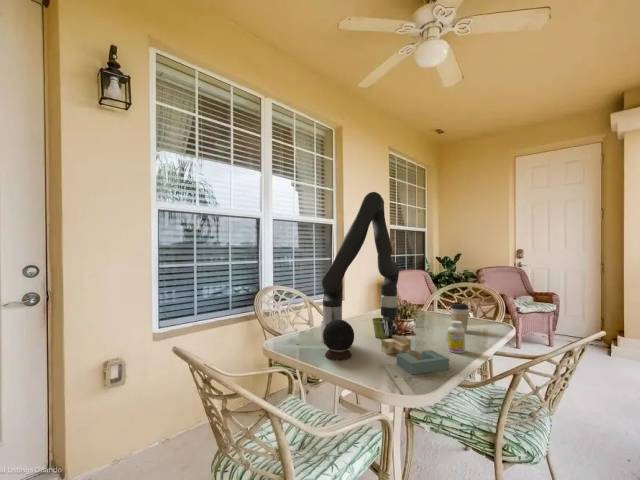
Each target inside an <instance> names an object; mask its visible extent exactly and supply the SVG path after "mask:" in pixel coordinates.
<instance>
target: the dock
mask: <svg viewBox="0 0 640 480" xmlns="http://www.w3.org/2000/svg"><path fill="white" fill-rule="evenodd" d="M421 355H422V356H421V359H418V358H416V357H414V356H413V355H411V354H410V355H409V354H408V353H403V354H396V365H397V366H398V367H399V368H400V369H402V370H404V371H405V372H407V373H408V374H410V375H411V376H412V375H418V374H419V375H420V374H424V373H432V372H433V373H434V372H439V371H441V370H442V371H447V370H446V369H450V361H449V360H450V358H448V357H447V356H444V355H443V354H441V353H438V352H437V351H434V350H432V349H431V350H423V351H422V352H421Z"/></svg>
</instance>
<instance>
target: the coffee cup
mask: <svg viewBox="0 0 640 480" xmlns="http://www.w3.org/2000/svg"><path fill="white" fill-rule="evenodd" d="M450 318H451V320H450V321H461V322H462V328H463V329H464V330H465V332H466V333H467V332H468V331H467V329H468V322H469V319H468V318H469V306H468V305H467V303H462V302H459V301H457V302H456V301H455V302H453V303H452V304H450Z"/></svg>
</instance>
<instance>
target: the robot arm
mask: <svg viewBox="0 0 640 480" xmlns="http://www.w3.org/2000/svg"><path fill="white" fill-rule="evenodd" d="M371 224H372V229H373V238H374V243H375V245H374V246H375V249H376V253H377V268H378V272H379V274H380V275H381V276H382V277H384V279H383V282H382V283H381V285H380V286H381V287H380V290H381V294H380V315H381V316H382V318H383V320H380V322H381V325H382V328H383V331H384V332H385V334H386V338H385V339H393V336H395V335H397V334H396V332H397V330H398V328H399V326H396V324H395V323H396V322H397V321H396V317H398V315H399V314H398V310H399V309H398V290H397V289H398V287H397V286H398V281H399V275H400V269H399V265H398V263H397V262H395V261H393V260H392V254H394V253H393V252H394V251H393V246H392V242H391V238H390V235H389V234H390V233H389V231H388V227H387V222H386V216H385V201H384V198H383V197H382V195H381V194H380V193H379V192H376V191H372V192H368V193H367V194H366V195H365V196H364V197H363V199H362V201H361V204H360V207H359V210H358V211H357V213H356V217H355V218H354V220H353V221H352V224H351V225H350V226H349V228H348V230H347V232H346V234H345V235H344V237H343V240H342V242H341V244H340V245H339V248H338V250H337V252H336V255H335V257H334V260H333V262H332V264H331V265H330V267H329V268H328V270H327V271H326V273H325V274H324V275H323V277H322V279H321V286H322V288H323V299H322V320H321V342H323V343H324V340H323V331H324V328H325V327H326V325H327V324H328V323H329V322H331V321H333V320H337V319H339V320H343V298H344V297H343V294H344V293H343V290H344V286H343V284H344V283H343V282H344V281H343V279H344V277H345V275H346V272H347V270H348V268H349V267H350V265H351V264H352V263H353V261H354V260H355V259H356V258H357V256H358V254H359V252H360V251H361V248H362V246H363V245H364V243H365V241H366V238H367V235H368V232H369V228H370V225H371Z"/></svg>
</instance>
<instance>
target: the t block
mask: <svg viewBox="0 0 640 480" xmlns="http://www.w3.org/2000/svg"><path fill="white" fill-rule="evenodd" d="M380 341H381V352H382V353H383V354H385V355H388V354H395V355H397V354H403V353H408V354H409V355H411V351H412V350H411V349H412V348H411V346H412V345H411V342H412V341H411V339H410V338H408V337H407V336H403V337H396V338H394V337H392V339H386V338H384V339H383V338H382V339H381V340H380Z"/></svg>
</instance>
